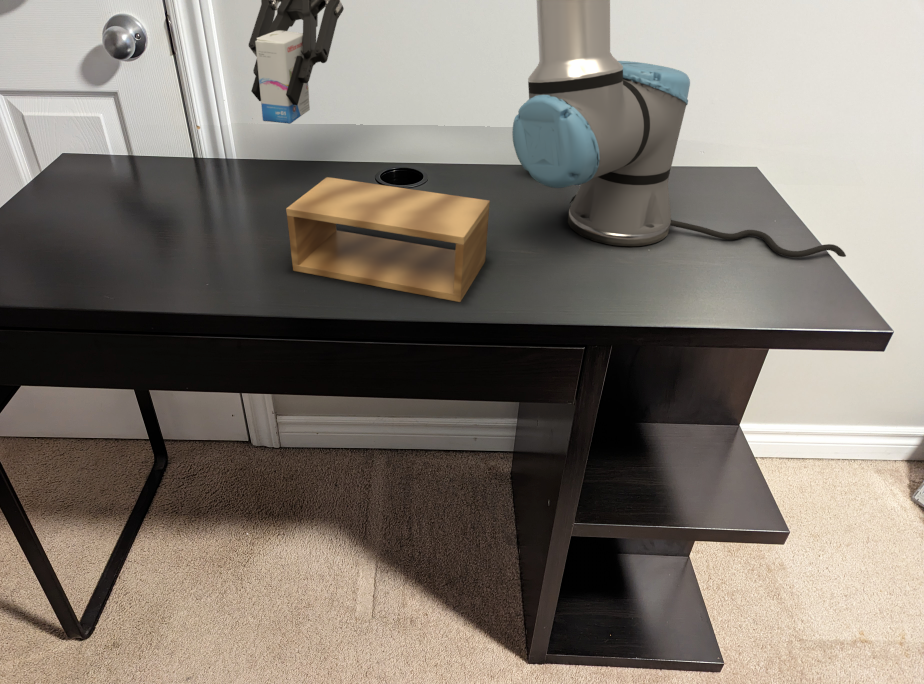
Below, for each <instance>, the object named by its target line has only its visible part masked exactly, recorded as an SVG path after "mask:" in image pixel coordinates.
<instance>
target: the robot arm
mask: <svg viewBox="0 0 924 684" xmlns="http://www.w3.org/2000/svg"><path fill="white" fill-rule="evenodd" d="M260 2H261V4H260V7H259V11H258V14H257V16H256V19H255V23H254V26H253V29H252V31H251V36H250V38H249V41H248V47H249V49H250V50H251V51H252V53H253V54H254V55H255V57H256V59H255V62H254V63H255V64H254V67H253V74H254V81H253V84H252V87H251V93H252V94H253V95H254V97H255V98H256V99H257V101H258V102H261V96H260V84H259V75H258V64H257V53H256V43H255V41H257V38H258V37H261V36H263V35H266V34H269V33H271V32H274V31H278V30H281V31H289V29H290V28H292V27H293V26H294V24H295V23H296V21H300V20H302V33H303V50H302V51H303V52H302V51H301V53H302V54H303V56H304V57H303V58H302V56H297V58H296V61H295V65H294V68H293V72H292V75H291V79H290V82H289V86H288V89H287V93H286V96H287V97H288V98H289V100H290V101H291V103H292V104H293V105H298V102H299V98H300V95H301V91H302V88H303V84H304V83H308V84H309V81H310V79H311V75H312V72H313V68H314V66H315V65H316V64H318V63H321V64H325V63H327V61H328V59H329V56H330V51H331V48H332V47H331V46H332V43H333V39H334V35H335V32H336V27H337V23H338V20H339V18H340V16H342V13H343V12H344V9H345V8H344V6H343V5H344V4H343V3H342V1H341V0H260ZM323 10H324V11H323ZM322 11H323V14H322V18H321V22H320V26H319V30H318V33H317V27H318V22H319V21H318V20H319V17H318V16H319V14H320V12H322ZM536 17H537V18H536V19H537V36H538V38H537V41H538V60H539V61H538V64H537V66H536V68H534V70H533V71H532V73H531V74H530V75H529V76H528V78H527V85H528V99H527V100H526V102H524V103H523V104H522V105H521V106H520V107H519V108H518V110H517V111H518V114H516V115H515V116H514V119H513V123H512V142H513V143H512V144H513V147H514V151H515V154H516V157H517V159H518V161H519V163H520V164H521V167H522V168H523V170H525V171H527V172H528V173H529V175H530V177H531V178H532V179H533V180H535V182H537V183H539V184H541V185H542V186H546V187H547V188H552V189H562V188H568V187H571V186H579V185H580V186H579V188H578V190H577V191H576V194H575V195H574V196H573V197H572V198H571V199H570V202H569V204H570V206H569V209H568V214H567V215H568V216H567V223H568V226H569V227H570V229H571V230H572V231H574V232H575V233H577V234H578V235H579V236H582V237H583V238H586V239H588V240H591V241H593V242H598V243H601V244H606V245H611V246H612V245H613V246H617V247H618V246H619V247H640V246H647V245H652V244H655V243H658V242H660V241H663V240H664V239H665V238H666V237H667V236H668V234H669V231H670V227H674V228H679V229H682V230H683V229H684V230H687V231H693V232H697V233H700V234H705V235H708V236H711V237H714V238H718V239H722V240H738V239H741V238H744V237H747V236H750V237H751V236H752V237H756V238H759V239H762V240H763V241H764V242H765V243H766V244H767V245H768V247H769V248H770V249H771V250H772V251H773V252H775V253H776V254H778V255H781V256H784V257H789V258H803V257H808V256H812V255H815V254H818V253H822V252H825V251H826V252H827V251H831V252H833V253H834V254H836V255H837V257H841V258H846V257H847V255H846V253H845V251H844V250H843V249H842V248H841V247H840V246H838V245H836V244H831V243H828V244H821V245H818V246H817V245H816V246H814V247H811V248H807V249H802V250H788V249H786V248H783V247H781V246H779V244H777V243H776V242H775V241H774V239H773V238H772V237H771V236H770V235H769V234H767V233H766V232H763V231H761V230H756V229H743V230H742V231H738V232H735V233H734V232H733V233H727V232H721V231H717V230H714V229H712V228H711V229H710V228H707V227H704V226H699V225H697V224H696V225H695V224H692V223H687V222H683V221H678V220H674V219H672V213H671V203H670V201H671V200H670V192H669V178H670V174H671V169H672V166H673V161H674V157H675V153H676V148H677V145H678V141H679V137H680V133H681V128H682V124H683V119H684V116H685V112H686V108H687V106H688V104H689V99H688V97H689V92H690V87H691V80H690V77H689V75H688V74H687V73H686V72H685V71H682V70H680V69H676V68H673V67H669V66H665V65H659V64H652V63H648V62H647V63H645V62H638V61H630V60H629V61H628V60H617V58H615V57H614V56H613V54H612V53H611V0H536Z"/></svg>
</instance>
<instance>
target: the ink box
mask: <svg viewBox="0 0 924 684" xmlns="http://www.w3.org/2000/svg"><path fill="white" fill-rule="evenodd" d="M255 43H256V53H257V57H256V59H257V64H258V75H259V84H260V96H261V101H260V104H261V117H262V121H263V122H267V123H268V122H270V123H278V124H279V123H280V124H288V125H290V124H292V123H294V122H295V121H296V120H298V119H299V118H301V117H302V116H303V115H305V114H306V113H308V112H309V111H310V109H311V108H310V107H311V106H310V89H309V87H310V86H309V82H308V83H304V84H303V88H302V91H301V95H300V98H299V102H298V105H293V104H292V103H291V101H290V100H289V98H288V97H287V96H286V93H287V89H288V86H289V82H290V79H291V75H292V72H293V68H294V65H295V61H296V58H297V56H302V58H303V57H304V56H303V54H302V53H301V51H302V50H303V32H297V31H296V32H295V31H289V30H288V31H281V30H278V31H274V32H271V33H269V34H266V35H263V36H261V37H258V38H257V41H255ZM302 52H303V51H302Z"/></svg>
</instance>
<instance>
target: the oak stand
mask: <svg viewBox="0 0 924 684" xmlns="http://www.w3.org/2000/svg"><path fill="white" fill-rule="evenodd" d="M490 203H491V200H487V199H481V198H473V197H467V196H461V195H460V196H459V195H452V194H446V193H439V192H433V191H425V190H419V189H413V188H403V187H397V186H390V185H385V184H377V183H370V182H365V181H364V182H363V181H357V180H350V179H344V178H343V179H342V178H335V177H330V176H329V177H328V176H326V177H324V178H323V179H322V180H321V181H320V182H318V184H316V185H314V186H313V187H312V188H311V189H309V190H308V191H307V192H306V193H304V194H303V195H302V196H301V197H299V198H298V199H297V200H295V201H294V202H293V203H291V204H290V205H289V206H288V207H286V208H285V210H286V219H287V228H288V235H289V236H288V237H289V238H288V239H289V245H290V255H291V263H292V264H291V265H292V271H294V272H298V273H304V274H308V275H315V276H319V277H324V278H330V279H334V280H335V279H336V280H341V281H346V282H351V283H357V284H362V285H367V286H371V287H377V288H382V289H389V290H393V291H399V292H404V293H410V294H413V295H419V296H420V295H421V296H425V297H431V298H435V299H441V300H447V301H453V302H456V303H461V302H462V300H463V299H464V297H465V295H466V294H467V292H468V290H469V289H470V287H471V286H472V284H473V282H474V281H475V279H476V277H477V276H478V274H479V273H480V271H481V269H482V268H483V266H484V264H485V263H486V258H487V257H486V256H487V255H486V254H487V244H488V243H487V242H488V230H489V219H490V205H491V204H490ZM337 224H338V225H342V226H347V227H348V226H349V227H354V228H360V229H367V230H373V231H377V232H378V231H379V232H385V233H391V234H398V235H401V236H402V235H403V236H409V237H413V238H414V237H415V238H421V239H426V240H434V241H440V242H445V243H452V244H455V249H449V248H444V247H437V246H432V245H427V244H420V243H414V242H409V241H403V240H395V239H390V238H383V237H379V236H372V235H365V234H361V233H354V232H350V231H349V232H348V231H343V230H337Z"/></svg>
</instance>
